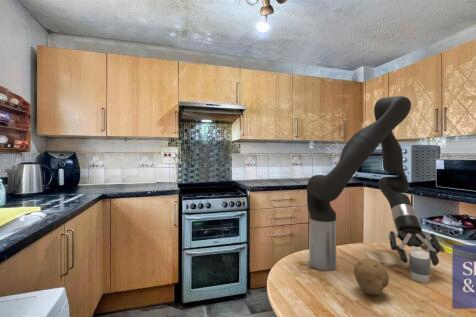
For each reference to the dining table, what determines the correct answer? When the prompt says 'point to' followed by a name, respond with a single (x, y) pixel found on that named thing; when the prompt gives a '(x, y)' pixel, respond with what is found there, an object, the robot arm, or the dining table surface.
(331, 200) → the robot arm
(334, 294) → the dining table surface
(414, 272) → the grey banded cylinder
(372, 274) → the natural sponge
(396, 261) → the oak board
